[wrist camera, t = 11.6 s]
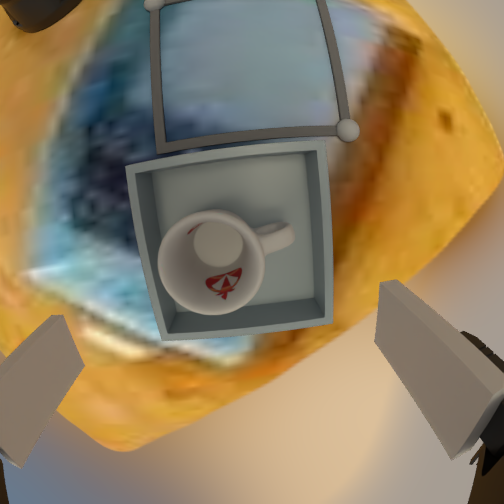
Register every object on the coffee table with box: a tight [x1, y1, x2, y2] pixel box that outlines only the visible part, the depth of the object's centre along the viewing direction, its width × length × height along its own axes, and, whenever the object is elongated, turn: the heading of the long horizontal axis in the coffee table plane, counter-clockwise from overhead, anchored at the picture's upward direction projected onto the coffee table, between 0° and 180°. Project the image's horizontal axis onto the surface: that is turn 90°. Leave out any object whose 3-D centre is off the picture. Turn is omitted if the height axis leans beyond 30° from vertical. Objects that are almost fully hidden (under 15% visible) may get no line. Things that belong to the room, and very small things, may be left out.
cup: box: [158, 209, 295, 315], centre depth 24 cm, size 11×8×8 cm
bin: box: [125, 140, 333, 341], centre depth 26 cm, size 17×17×5 cm
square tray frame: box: [144, 0, 360, 155], centre depth 22 cm, size 21×21×2 cm
